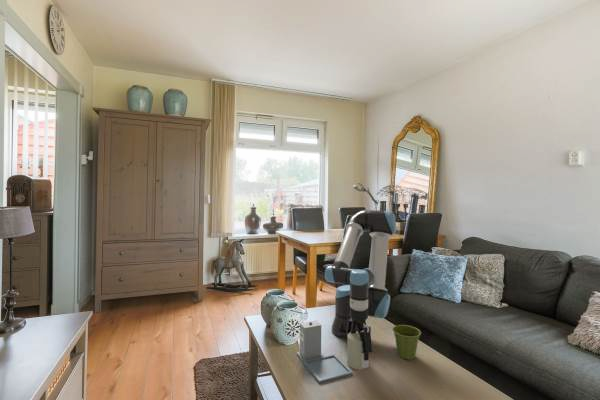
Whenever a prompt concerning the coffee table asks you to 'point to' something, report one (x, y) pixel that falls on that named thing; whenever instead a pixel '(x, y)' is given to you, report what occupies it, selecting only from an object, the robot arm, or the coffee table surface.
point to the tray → (327, 368)
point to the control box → (310, 341)
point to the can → (355, 351)
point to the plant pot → (406, 340)
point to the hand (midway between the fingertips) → (358, 360)
